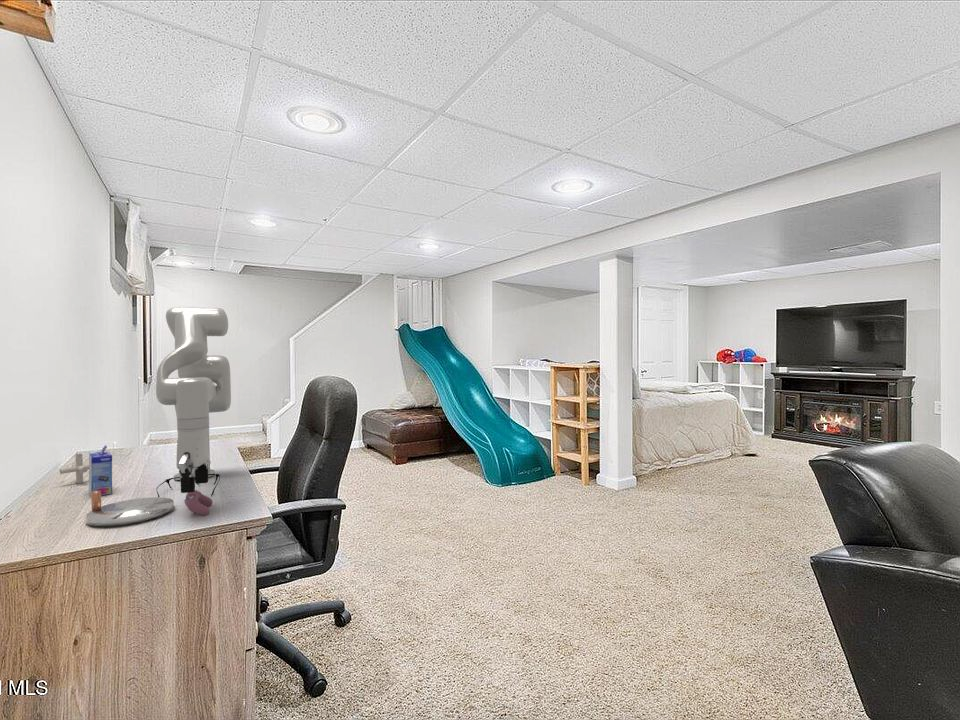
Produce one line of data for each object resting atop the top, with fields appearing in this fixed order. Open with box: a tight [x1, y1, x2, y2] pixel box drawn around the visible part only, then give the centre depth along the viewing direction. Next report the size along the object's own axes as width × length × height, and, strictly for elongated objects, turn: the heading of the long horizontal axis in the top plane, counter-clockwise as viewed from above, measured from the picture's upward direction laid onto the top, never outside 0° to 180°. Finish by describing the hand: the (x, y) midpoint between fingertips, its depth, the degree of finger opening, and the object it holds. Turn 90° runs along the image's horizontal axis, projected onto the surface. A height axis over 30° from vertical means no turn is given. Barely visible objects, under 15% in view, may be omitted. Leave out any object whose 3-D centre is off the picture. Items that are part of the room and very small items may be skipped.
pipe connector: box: [59, 452, 89, 484], centre depth 165 cm, size 10×10×10 cm
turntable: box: [85, 490, 175, 527], centre depth 130 cm, size 19×19×6 cm
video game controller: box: [183, 489, 213, 516], centre depth 133 cm, size 10×5×7 cm, turn 24°
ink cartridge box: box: [88, 444, 113, 496], centre depth 153 cm, size 10×6×14 cm, turn 42°
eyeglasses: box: [156, 473, 221, 497], centre depth 151 cm, size 16×16×4 cm
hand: (195, 487), depth 132 cm, fingers open, 9 cm apart
